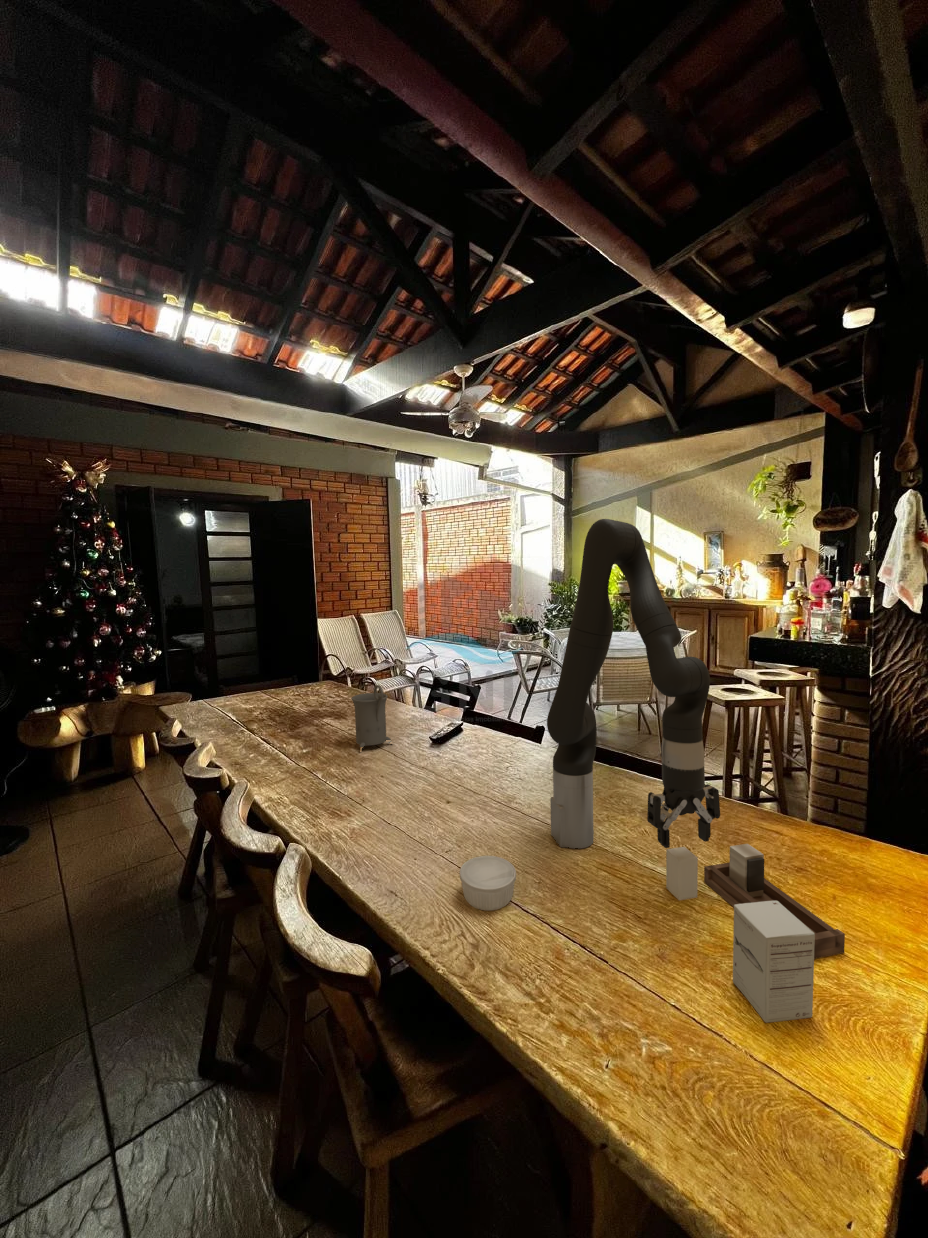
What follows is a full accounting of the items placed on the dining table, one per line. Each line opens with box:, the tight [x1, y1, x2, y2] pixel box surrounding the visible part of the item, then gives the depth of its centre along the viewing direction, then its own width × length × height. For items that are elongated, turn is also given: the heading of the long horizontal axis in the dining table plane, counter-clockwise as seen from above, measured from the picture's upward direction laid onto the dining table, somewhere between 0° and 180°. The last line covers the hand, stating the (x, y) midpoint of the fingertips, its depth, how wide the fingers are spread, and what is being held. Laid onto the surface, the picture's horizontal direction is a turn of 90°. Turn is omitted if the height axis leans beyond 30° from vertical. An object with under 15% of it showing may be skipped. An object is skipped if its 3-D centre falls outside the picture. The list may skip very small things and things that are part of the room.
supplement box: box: [732, 901, 815, 1023], centre depth 71 cm, size 7×7×13 cm
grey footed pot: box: [351, 684, 392, 748], centre depth 189 cm, size 19×15×25 cm
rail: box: [703, 843, 846, 960], centre depth 90 cm, size 9×22×9 cm, turn 11°
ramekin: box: [459, 855, 517, 912], centre depth 97 cm, size 11×11×5 cm
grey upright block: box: [665, 846, 699, 901], centre depth 97 cm, size 4×5×8 cm
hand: (684, 842), depth 96 cm, fingers open, 8 cm apart
